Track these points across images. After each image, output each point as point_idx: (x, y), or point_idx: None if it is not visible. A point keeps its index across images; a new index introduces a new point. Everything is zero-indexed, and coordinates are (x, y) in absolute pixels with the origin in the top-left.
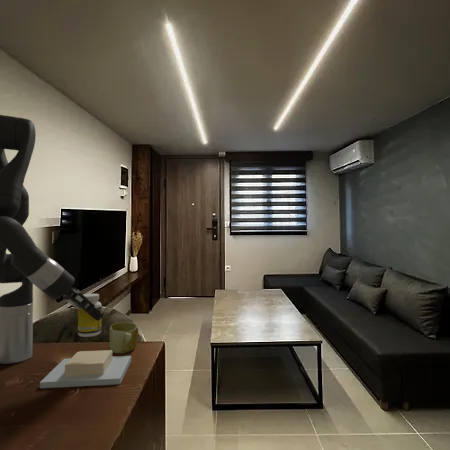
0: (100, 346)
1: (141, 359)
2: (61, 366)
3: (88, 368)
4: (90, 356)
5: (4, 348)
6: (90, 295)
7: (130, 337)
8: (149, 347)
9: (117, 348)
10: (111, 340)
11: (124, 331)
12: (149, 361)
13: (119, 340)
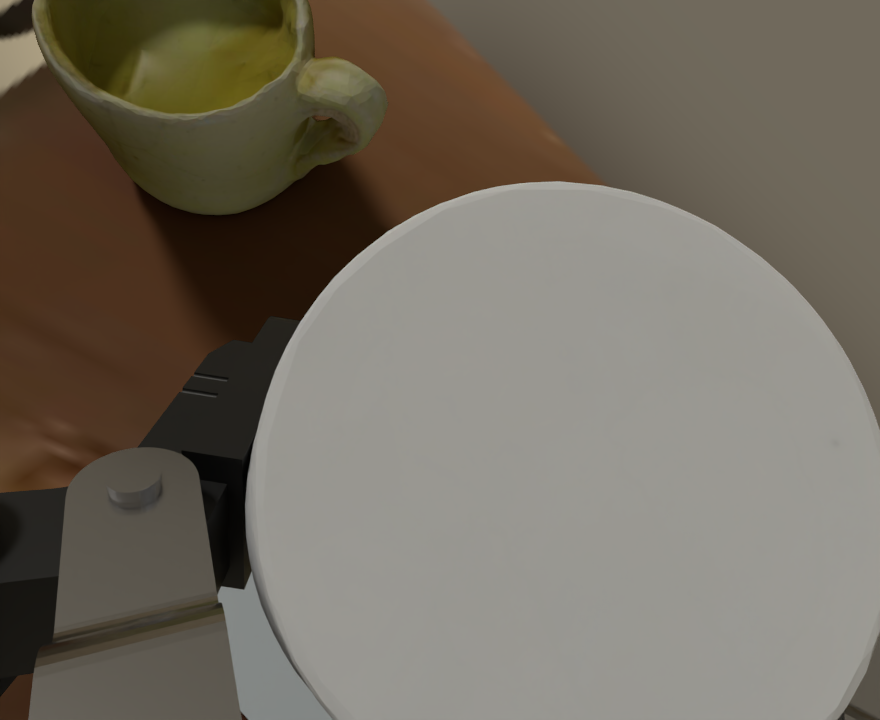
0: (20, 199)
1: (488, 170)
2: (235, 636)
3: None
4: None
5: None
6: (670, 510)
7: (382, 99)
8: (347, 18)
9: (259, 187)
10: (189, 176)
11: (148, 19)
12: (555, 161)
13: (268, 148)
